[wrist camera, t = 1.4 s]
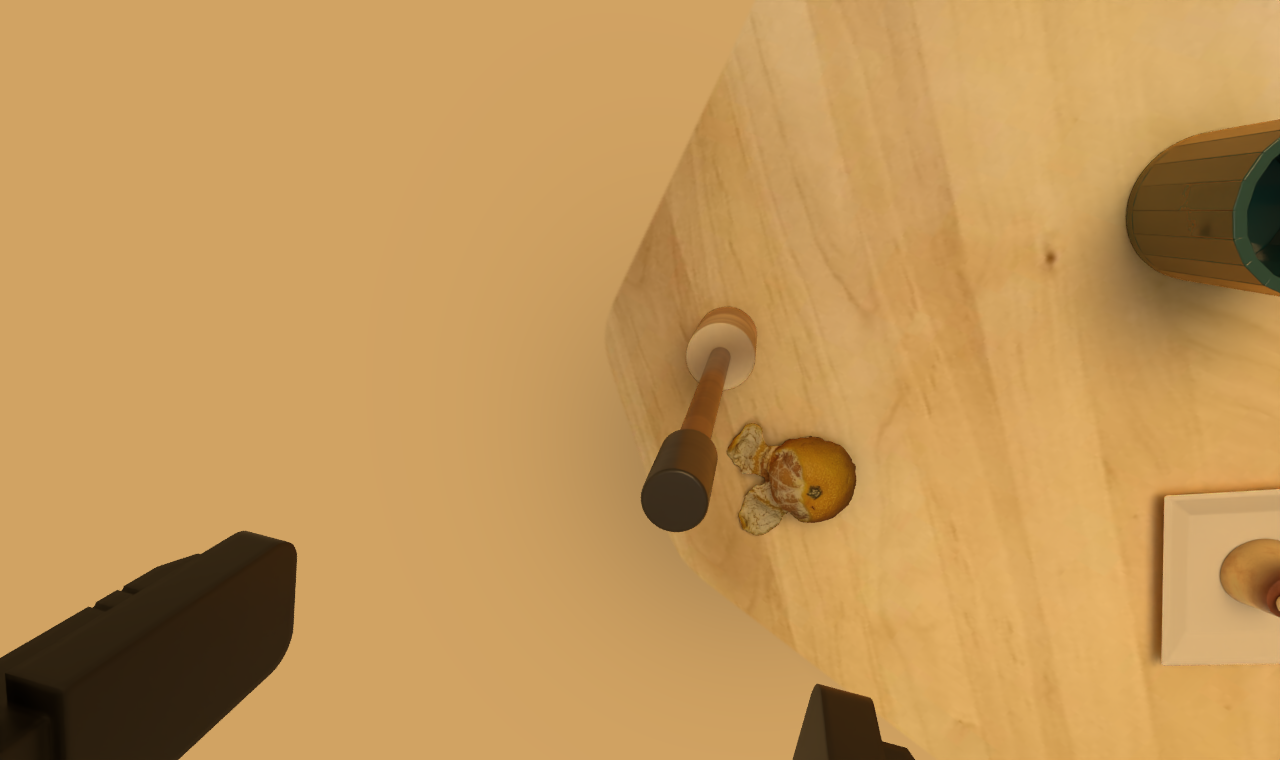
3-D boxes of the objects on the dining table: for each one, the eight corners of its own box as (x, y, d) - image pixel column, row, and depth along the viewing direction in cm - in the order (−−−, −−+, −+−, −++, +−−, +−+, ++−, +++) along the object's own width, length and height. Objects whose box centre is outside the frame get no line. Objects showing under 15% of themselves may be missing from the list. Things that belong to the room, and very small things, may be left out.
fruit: (723, 425, 49) (719, 442, 45) (846, 408, 47) (852, 424, 43) (742, 534, 50) (740, 559, 47) (862, 522, 49) (869, 546, 45)
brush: (686, 323, 48) (583, 470, 21) (739, 296, 46) (702, 413, 20) (714, 375, 48) (647, 583, 21) (767, 348, 47) (767, 533, 20)
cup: (1102, 179, 41) (1204, 169, 32) (1258, 102, 39) (1418, 66, 29) (1158, 305, 42) (1272, 333, 33) (1312, 236, 40) (1484, 245, 30)
